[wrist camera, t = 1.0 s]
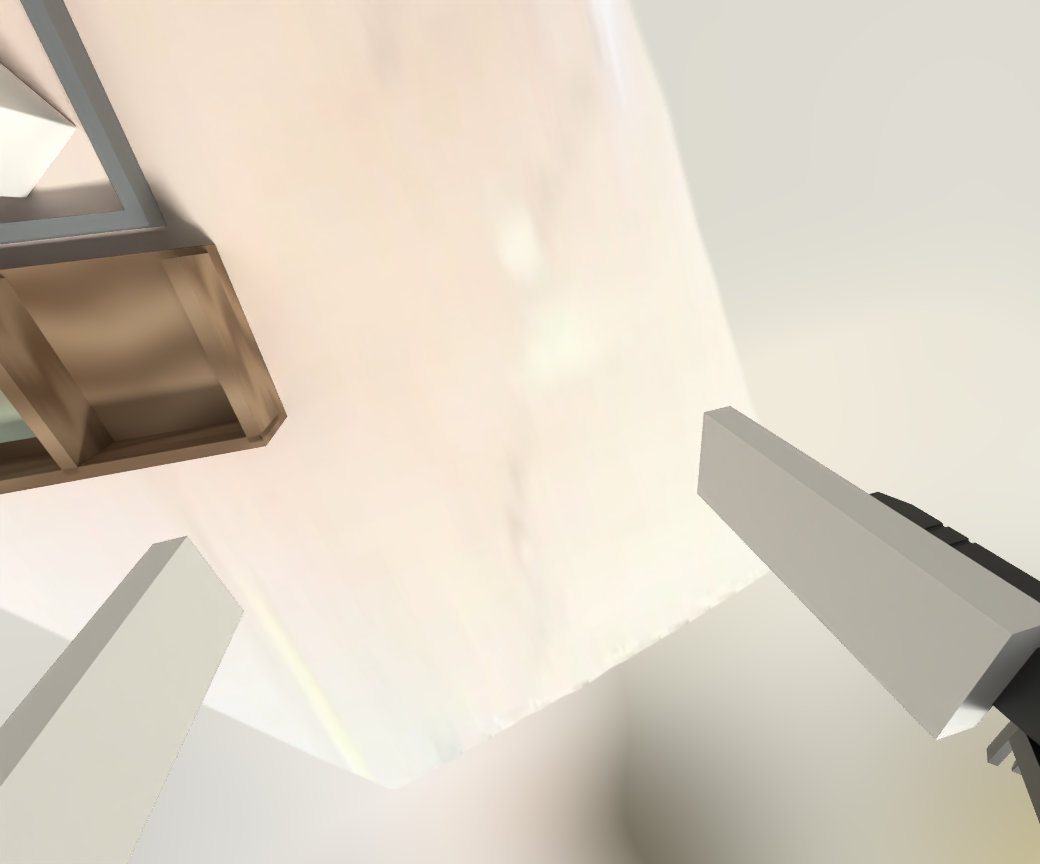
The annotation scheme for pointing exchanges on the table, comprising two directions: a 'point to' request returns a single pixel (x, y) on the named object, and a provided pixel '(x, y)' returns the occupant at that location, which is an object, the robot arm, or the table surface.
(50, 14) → the bracket
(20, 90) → the milk
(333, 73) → the table surface
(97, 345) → the box
